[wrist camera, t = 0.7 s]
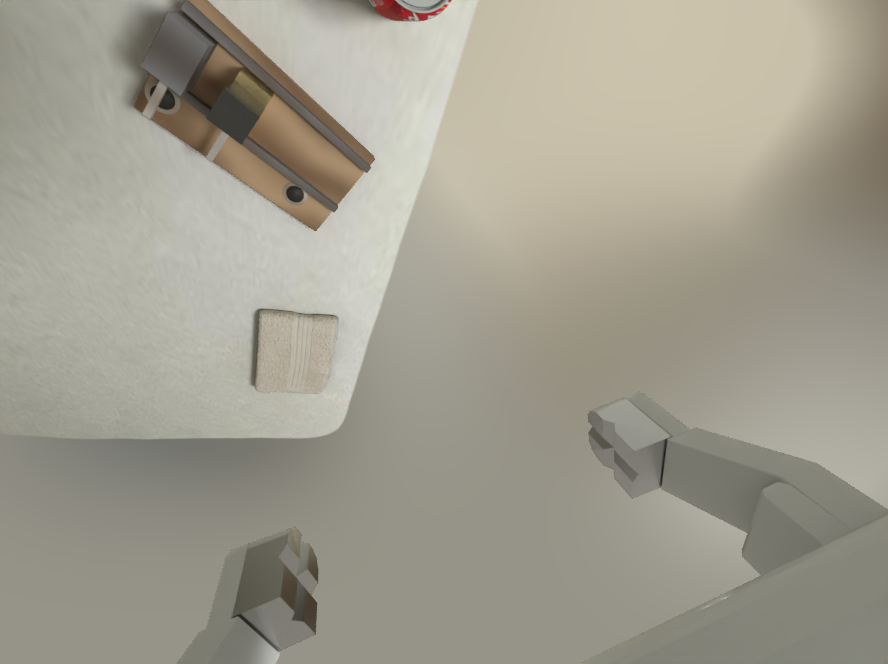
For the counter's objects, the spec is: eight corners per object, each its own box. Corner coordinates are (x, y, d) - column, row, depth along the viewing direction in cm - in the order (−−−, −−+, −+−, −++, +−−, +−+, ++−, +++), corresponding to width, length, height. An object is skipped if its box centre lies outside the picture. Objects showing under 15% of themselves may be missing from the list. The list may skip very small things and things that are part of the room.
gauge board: (197, -9, 32) (180, -12, 28) (373, 155, 44) (378, 170, 40) (139, 103, 36) (116, 115, 32) (315, 226, 48) (315, 245, 44)
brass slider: (245, 67, 35) (230, 78, 29) (274, 93, 37) (265, 108, 31) (199, 141, 38) (178, 164, 32) (229, 162, 40) (213, 187, 34)
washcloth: (256, 384, 64) (253, 398, 62) (257, 304, 54) (254, 316, 52) (325, 386, 69) (326, 398, 67) (339, 312, 59) (339, 324, 56)
